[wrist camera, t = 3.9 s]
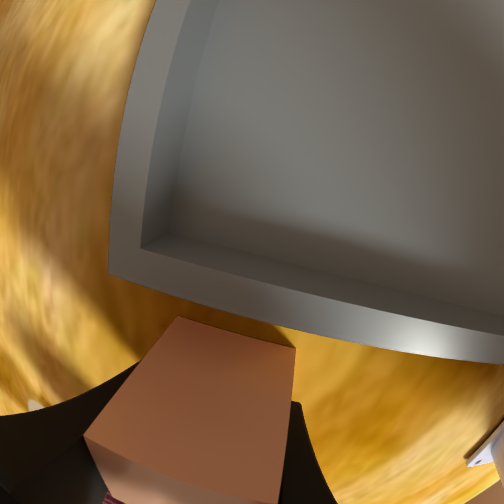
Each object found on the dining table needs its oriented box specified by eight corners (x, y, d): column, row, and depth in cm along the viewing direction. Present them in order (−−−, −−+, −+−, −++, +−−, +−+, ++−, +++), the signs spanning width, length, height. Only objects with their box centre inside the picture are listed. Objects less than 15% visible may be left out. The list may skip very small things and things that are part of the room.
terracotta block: (295, 348, 10) (277, 504, 4) (267, 421, 11) (240, 540, 6) (177, 315, 10) (83, 435, 5) (172, 394, 12) (112, 497, 6)
